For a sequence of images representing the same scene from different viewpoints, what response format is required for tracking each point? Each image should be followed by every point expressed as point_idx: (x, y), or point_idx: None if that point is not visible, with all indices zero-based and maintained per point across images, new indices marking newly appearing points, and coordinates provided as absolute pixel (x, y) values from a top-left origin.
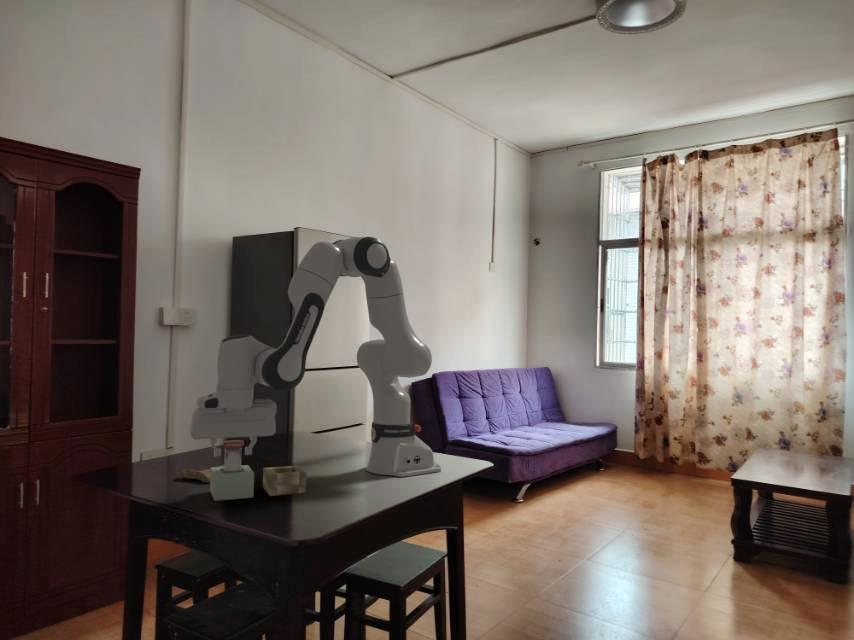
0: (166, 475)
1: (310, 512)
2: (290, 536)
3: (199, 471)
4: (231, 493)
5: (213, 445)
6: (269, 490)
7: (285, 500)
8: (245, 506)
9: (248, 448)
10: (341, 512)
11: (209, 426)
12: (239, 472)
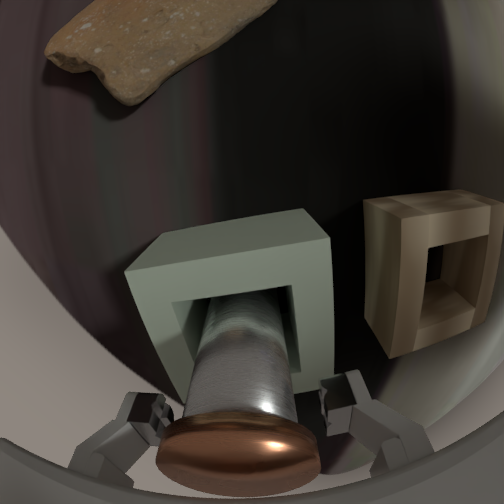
0: (38, 20)
1: None
2: (326, 473)
3: (92, 58)
4: None
5: (122, 464)
6: (369, 318)
7: (386, 356)
8: None
9: (341, 431)
10: (431, 409)
11: None
12: None
